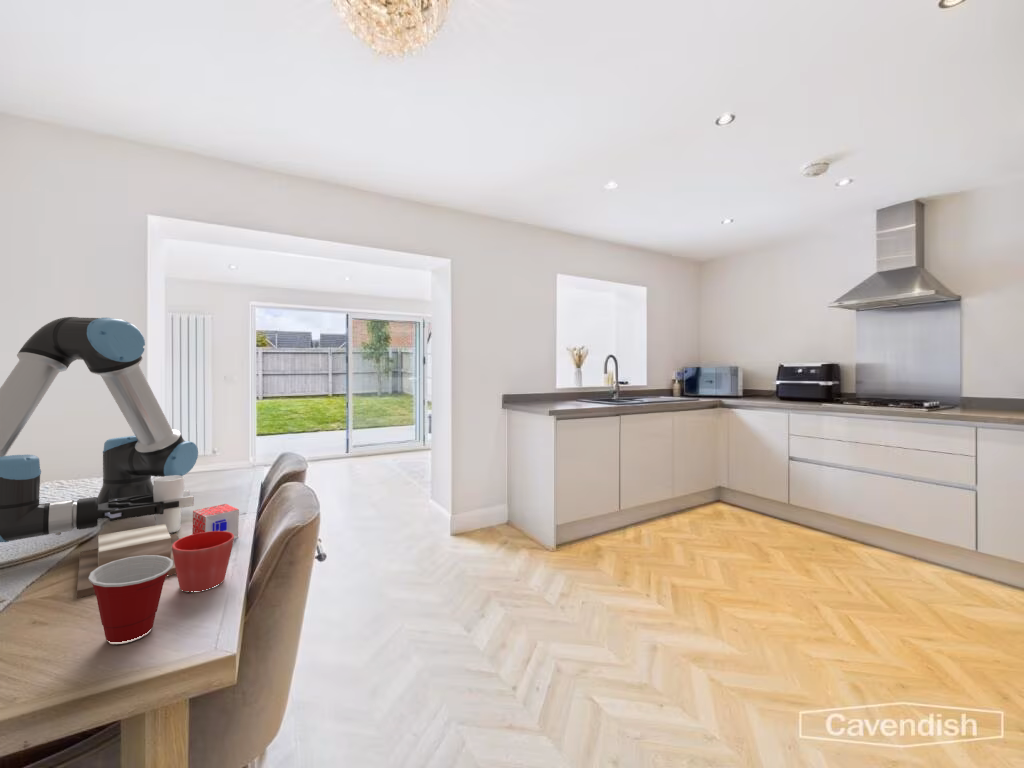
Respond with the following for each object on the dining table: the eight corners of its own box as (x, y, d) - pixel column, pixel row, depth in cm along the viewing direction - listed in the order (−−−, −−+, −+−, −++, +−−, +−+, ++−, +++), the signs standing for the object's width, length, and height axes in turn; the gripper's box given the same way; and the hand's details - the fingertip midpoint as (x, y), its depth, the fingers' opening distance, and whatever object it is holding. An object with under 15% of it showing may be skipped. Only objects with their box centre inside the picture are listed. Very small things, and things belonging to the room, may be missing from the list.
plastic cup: (139, 655, 67) (140, 581, 66) (66, 656, 66) (68, 582, 66) (186, 616, 77) (188, 553, 77) (125, 617, 77) (126, 552, 76)
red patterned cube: (225, 531, 119) (225, 503, 119) (238, 537, 115) (238, 509, 114) (191, 539, 112) (192, 510, 112) (204, 547, 108) (205, 516, 108)
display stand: (79, 557, 99) (80, 531, 99) (176, 539, 112) (176, 515, 112) (76, 598, 82) (77, 565, 82) (190, 570, 95) (191, 542, 95)
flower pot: (244, 577, 93) (246, 534, 93) (193, 602, 82) (194, 553, 82) (211, 568, 96) (212, 527, 96) (158, 591, 86) (159, 544, 86)
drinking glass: (189, 527, 119) (191, 475, 119) (167, 536, 112) (169, 481, 112) (168, 526, 120) (169, 474, 119) (145, 534, 113) (146, 480, 113)
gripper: (76, 519, 110) (185, 502, 126) (73, 541, 96) (197, 519, 113) (76, 491, 110) (186, 478, 126) (74, 509, 96) (197, 492, 113)
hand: (191, 497), depth 119 cm, fingers closed on drinking glass, 6 cm apart
